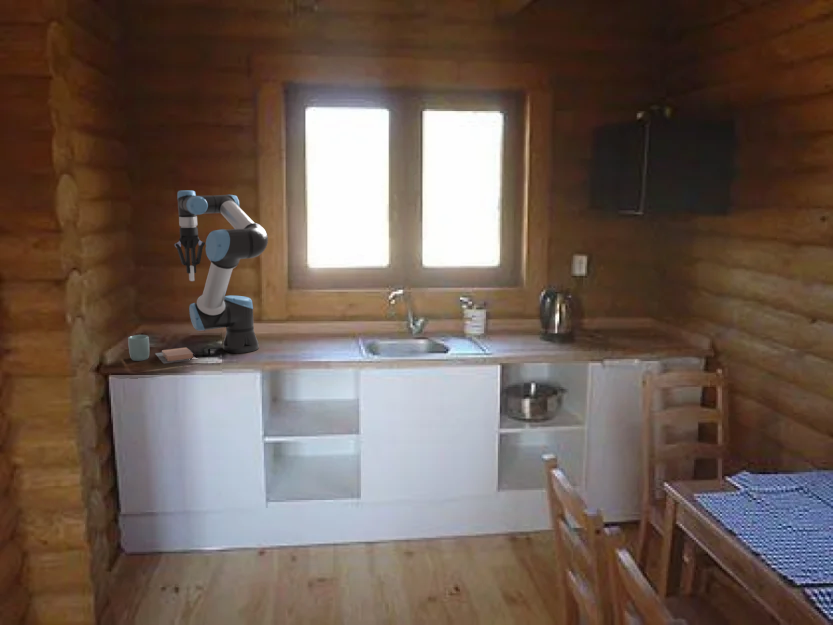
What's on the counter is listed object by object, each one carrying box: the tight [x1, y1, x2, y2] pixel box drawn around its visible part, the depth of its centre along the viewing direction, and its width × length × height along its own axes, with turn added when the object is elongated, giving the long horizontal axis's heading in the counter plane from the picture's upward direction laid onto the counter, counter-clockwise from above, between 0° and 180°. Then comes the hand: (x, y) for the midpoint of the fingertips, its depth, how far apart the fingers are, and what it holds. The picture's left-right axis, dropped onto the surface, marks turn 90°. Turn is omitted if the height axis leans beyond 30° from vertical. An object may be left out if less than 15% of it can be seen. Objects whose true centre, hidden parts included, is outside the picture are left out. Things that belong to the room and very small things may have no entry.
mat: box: [154, 352, 190, 365], centre depth 309 cm, size 18×14×1 cm
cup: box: [127, 334, 150, 362], centre depth 304 cm, size 8×8×10 cm
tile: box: [161, 347, 194, 361], centre depth 307 cm, size 2×10×11 cm
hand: (192, 280), depth 326 cm, fingers closed
